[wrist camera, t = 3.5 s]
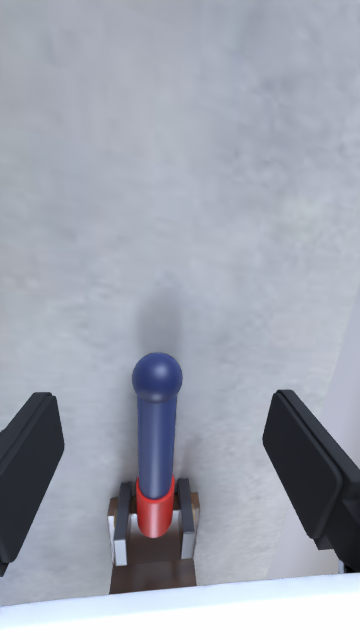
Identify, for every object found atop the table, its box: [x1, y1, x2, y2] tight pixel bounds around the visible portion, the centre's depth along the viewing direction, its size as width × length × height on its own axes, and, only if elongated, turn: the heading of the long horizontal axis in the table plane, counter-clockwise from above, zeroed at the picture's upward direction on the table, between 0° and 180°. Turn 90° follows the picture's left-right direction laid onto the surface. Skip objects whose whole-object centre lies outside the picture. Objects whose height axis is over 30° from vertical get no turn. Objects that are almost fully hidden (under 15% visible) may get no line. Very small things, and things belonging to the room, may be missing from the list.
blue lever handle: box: [132, 353, 182, 538], centre depth 14 cm, size 14×3×3 cm, turn 177°
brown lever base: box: [108, 478, 200, 595], centre depth 17 cm, size 10×7×5 cm
